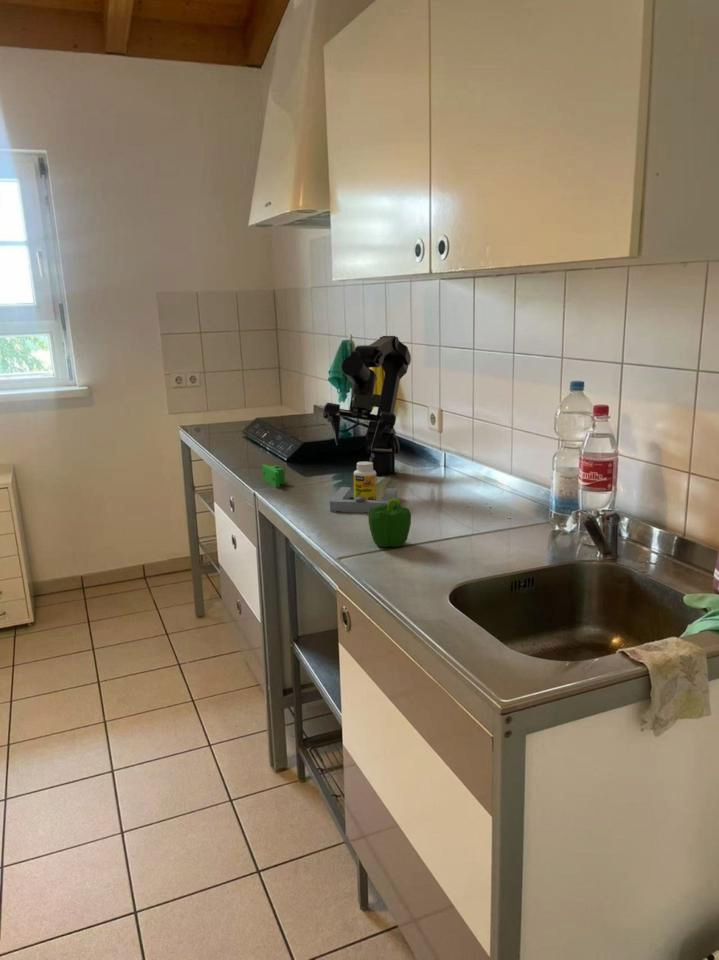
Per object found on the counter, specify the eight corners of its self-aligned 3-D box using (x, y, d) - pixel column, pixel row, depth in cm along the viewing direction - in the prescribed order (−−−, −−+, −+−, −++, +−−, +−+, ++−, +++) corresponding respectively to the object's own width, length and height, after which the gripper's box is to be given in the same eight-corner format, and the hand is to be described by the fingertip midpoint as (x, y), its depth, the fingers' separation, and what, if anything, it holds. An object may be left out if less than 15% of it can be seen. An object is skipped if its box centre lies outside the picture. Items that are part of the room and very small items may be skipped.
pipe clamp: (288, 487, 198) (288, 471, 197) (275, 489, 197) (275, 472, 196) (275, 478, 208) (274, 463, 207) (262, 480, 207) (261, 464, 206)
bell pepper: (361, 542, 150) (361, 495, 148) (395, 536, 154) (395, 490, 152) (382, 554, 143) (382, 505, 141) (417, 546, 147) (417, 499, 145)
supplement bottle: (352, 505, 178) (351, 464, 176) (356, 500, 183) (355, 460, 181) (374, 506, 177) (374, 465, 174) (378, 500, 182) (377, 460, 180)
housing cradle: (341, 496, 187) (340, 484, 186) (397, 498, 184) (397, 485, 184) (330, 511, 173) (329, 498, 172) (390, 513, 171) (390, 500, 170)
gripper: (329, 374, 183) (320, 433, 179) (402, 386, 184) (394, 445, 180) (327, 388, 193) (318, 444, 190) (396, 400, 195) (388, 455, 191)
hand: (354, 447), depth 188 cm, fingers open, 9 cm apart
